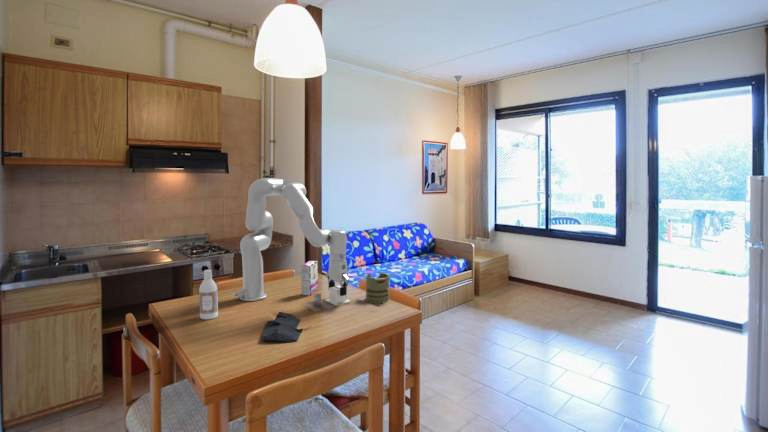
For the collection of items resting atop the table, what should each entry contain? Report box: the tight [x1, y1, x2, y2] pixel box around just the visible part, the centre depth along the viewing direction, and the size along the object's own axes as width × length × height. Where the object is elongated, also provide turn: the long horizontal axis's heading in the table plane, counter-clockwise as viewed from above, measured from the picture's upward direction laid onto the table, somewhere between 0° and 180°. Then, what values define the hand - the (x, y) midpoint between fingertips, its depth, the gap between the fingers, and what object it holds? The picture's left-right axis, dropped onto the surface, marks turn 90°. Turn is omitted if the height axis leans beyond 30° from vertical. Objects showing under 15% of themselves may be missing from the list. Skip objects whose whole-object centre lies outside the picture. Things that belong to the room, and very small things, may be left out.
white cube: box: [328, 285, 348, 303], centre depth 182 cm, size 6×6×6 cm
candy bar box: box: [300, 260, 319, 296], centre depth 196 cm, size 11×5×16 cm, turn 170°
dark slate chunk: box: [261, 311, 303, 343], centre depth 149 cm, size 15×22×5 cm
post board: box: [300, 293, 357, 313], centre depth 179 cm, size 22×14×6 cm, turn 130°
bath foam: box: [198, 269, 219, 321], centre depth 162 cm, size 7×7×20 cm
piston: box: [365, 272, 390, 304], centre depth 189 cm, size 11×12×11 cm
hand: (337, 292), depth 182 cm, fingers open, 9 cm apart
